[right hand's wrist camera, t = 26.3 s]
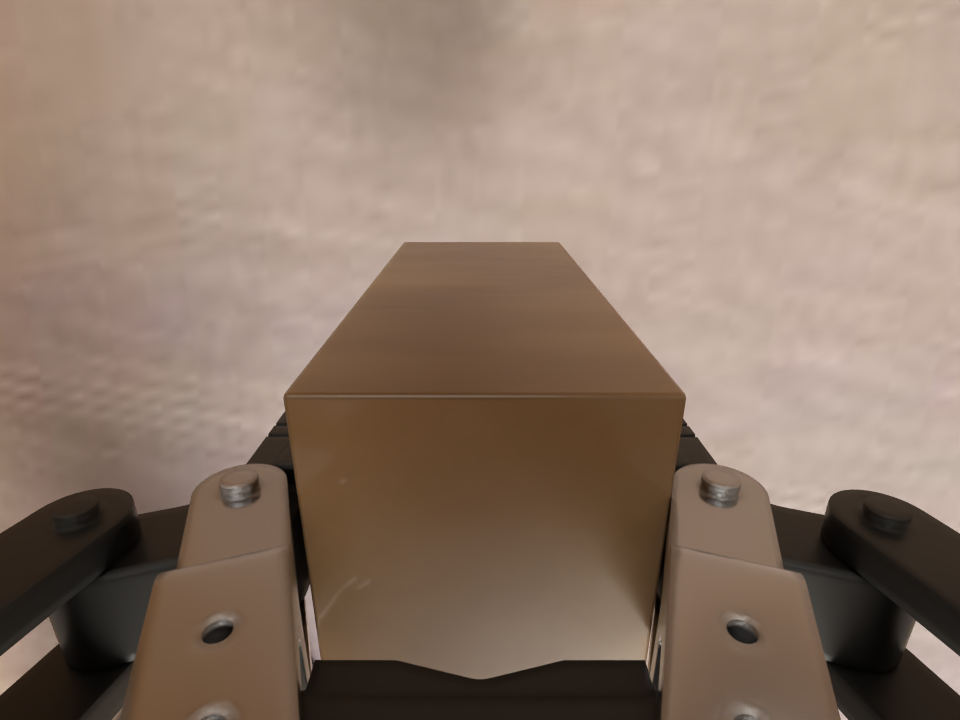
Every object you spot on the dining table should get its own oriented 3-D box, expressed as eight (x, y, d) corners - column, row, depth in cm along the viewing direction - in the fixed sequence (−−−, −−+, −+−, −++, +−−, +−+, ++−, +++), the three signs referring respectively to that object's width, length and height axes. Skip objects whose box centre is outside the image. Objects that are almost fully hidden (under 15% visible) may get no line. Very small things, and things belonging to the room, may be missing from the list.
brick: (560, 241, 17) (688, 395, 7) (552, 390, 19) (643, 695, 9) (403, 241, 17) (280, 394, 7) (411, 390, 19) (323, 695, 9)
